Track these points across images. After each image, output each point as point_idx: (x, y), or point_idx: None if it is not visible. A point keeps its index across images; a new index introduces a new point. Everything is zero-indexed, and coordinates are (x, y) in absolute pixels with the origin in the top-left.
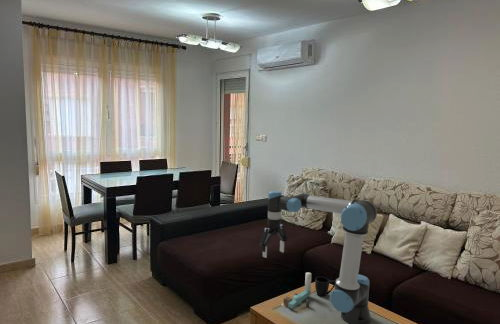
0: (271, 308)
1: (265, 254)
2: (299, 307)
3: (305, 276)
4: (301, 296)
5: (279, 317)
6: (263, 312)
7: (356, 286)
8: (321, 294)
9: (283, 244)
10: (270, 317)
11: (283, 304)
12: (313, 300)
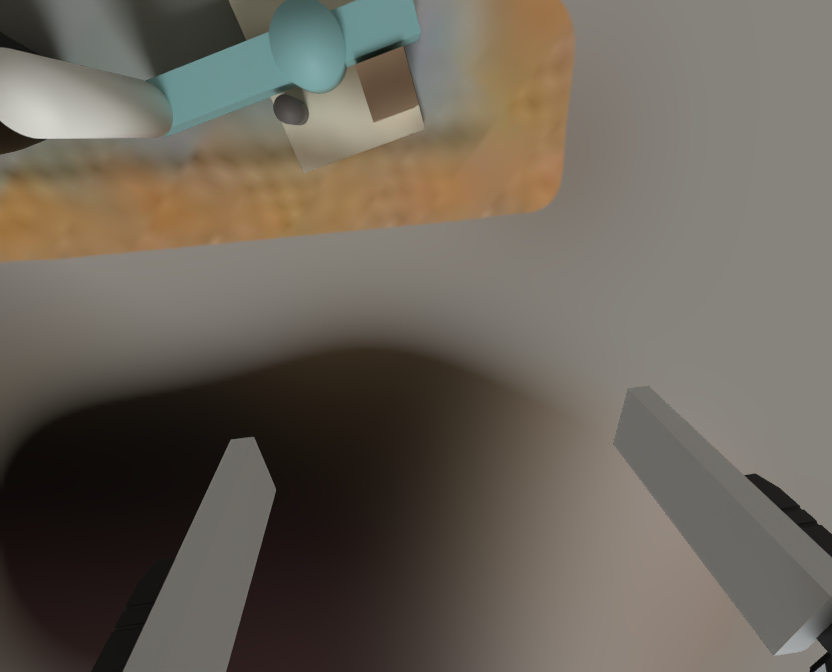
0: (483, 143)
1: (685, 429)
2: (328, 3)
3: (92, 122)
4: (263, 41)
5: (522, 4)
6: (553, 130)
7: None
8: (35, 54)
9: (179, 601)
10: (565, 46)
11: (414, 107)
12: (149, 53)
